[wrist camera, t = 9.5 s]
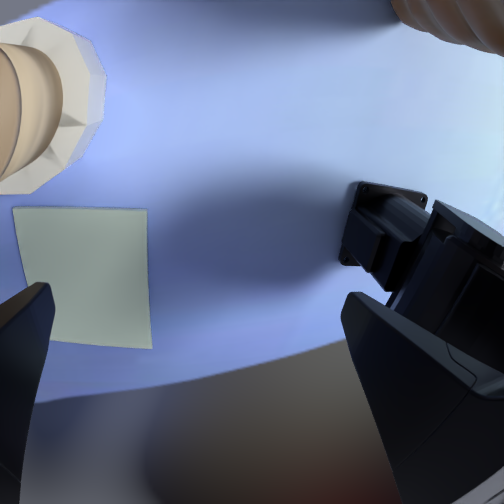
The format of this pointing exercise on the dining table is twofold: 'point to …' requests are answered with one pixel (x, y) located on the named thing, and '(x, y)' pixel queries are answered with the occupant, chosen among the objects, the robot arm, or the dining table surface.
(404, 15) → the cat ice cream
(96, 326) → the mat
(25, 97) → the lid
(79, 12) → the dining table surface
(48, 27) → the bowl
